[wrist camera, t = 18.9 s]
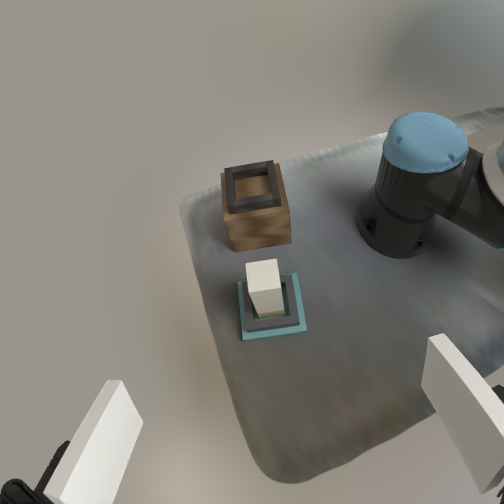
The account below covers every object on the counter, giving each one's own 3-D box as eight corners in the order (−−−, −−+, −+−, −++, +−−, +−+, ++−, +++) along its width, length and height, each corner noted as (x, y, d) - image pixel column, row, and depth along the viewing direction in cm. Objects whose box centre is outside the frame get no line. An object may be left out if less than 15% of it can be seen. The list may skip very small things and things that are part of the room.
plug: (281, 291, 50) (276, 258, 40) (285, 315, 48) (281, 287, 38) (257, 295, 51) (245, 263, 40) (259, 319, 49) (248, 292, 38)
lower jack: (296, 274, 53) (296, 266, 50) (306, 331, 48) (307, 327, 45) (238, 283, 53) (234, 276, 51) (243, 341, 48) (240, 337, 46)
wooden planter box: (282, 198, 60) (278, 155, 50) (291, 243, 55) (288, 202, 45) (231, 207, 61) (218, 165, 51) (235, 252, 56) (220, 213, 46)
